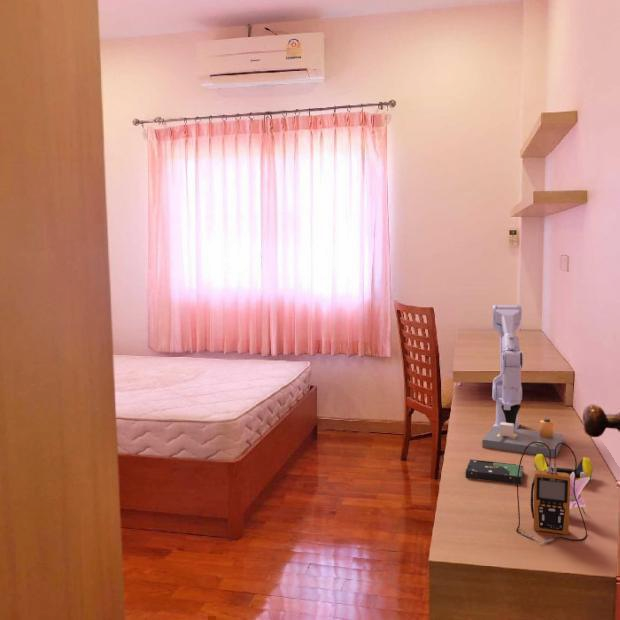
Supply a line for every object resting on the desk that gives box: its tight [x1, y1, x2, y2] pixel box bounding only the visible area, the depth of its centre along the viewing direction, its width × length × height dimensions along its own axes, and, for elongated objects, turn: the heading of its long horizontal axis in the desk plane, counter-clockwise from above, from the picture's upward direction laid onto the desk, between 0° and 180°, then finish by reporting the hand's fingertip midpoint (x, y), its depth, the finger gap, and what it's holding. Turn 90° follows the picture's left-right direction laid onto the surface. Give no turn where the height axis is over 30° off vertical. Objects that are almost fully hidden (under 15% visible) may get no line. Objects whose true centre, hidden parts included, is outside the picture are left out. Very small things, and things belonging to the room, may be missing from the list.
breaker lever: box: [499, 422, 514, 437], centre depth 199 cm, size 3×4×4 cm
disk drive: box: [465, 458, 524, 486], centre depth 170 cm, size 10×3×15 cm
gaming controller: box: [533, 454, 594, 481], centre depth 167 cm, size 15×6×10 cm
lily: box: [569, 472, 591, 514], centre depth 144 cm, size 12×12×10 cm
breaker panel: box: [481, 426, 564, 458], centre depth 198 cm, size 18×22×4 cm
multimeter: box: [515, 442, 588, 545], centre depth 131 cm, size 15×10×20 cm
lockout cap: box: [539, 418, 554, 438], centre depth 198 cm, size 4×4×6 cm
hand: (510, 426), depth 205 cm, fingers closed
